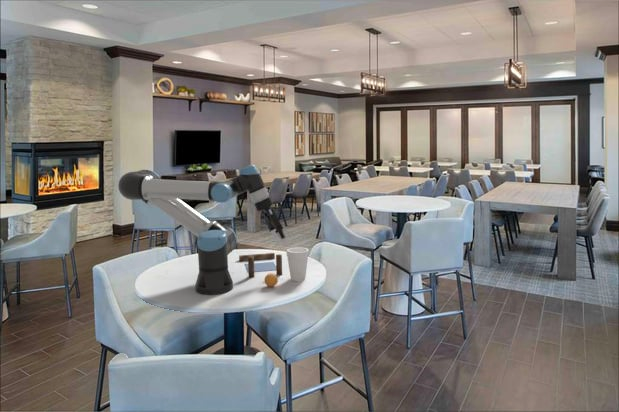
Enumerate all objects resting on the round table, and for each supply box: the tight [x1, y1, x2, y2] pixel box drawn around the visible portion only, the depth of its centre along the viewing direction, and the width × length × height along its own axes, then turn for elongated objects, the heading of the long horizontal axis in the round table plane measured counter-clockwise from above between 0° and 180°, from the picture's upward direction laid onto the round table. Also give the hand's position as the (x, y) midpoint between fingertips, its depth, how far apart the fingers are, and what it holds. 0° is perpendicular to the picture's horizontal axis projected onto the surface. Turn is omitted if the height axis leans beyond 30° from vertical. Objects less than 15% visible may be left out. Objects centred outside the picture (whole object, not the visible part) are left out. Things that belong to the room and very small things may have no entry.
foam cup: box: [286, 247, 309, 282], centre depth 195 cm, size 10×9×13 cm
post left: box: [247, 256, 255, 279], centre depth 199 cm, size 3×3×9 cm
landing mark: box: [244, 261, 276, 273], centre depth 215 cm, size 14×14×1 cm
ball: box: [264, 273, 279, 288], centre depth 186 cm, size 6×6×6 cm
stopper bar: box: [238, 252, 276, 262], centre depth 229 cm, size 18×2×2 cm, turn 104°
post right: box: [275, 253, 283, 276], centre depth 202 cm, size 3×3×9 cm
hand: (282, 244), depth 194 cm, fingers open, 13 cm apart
